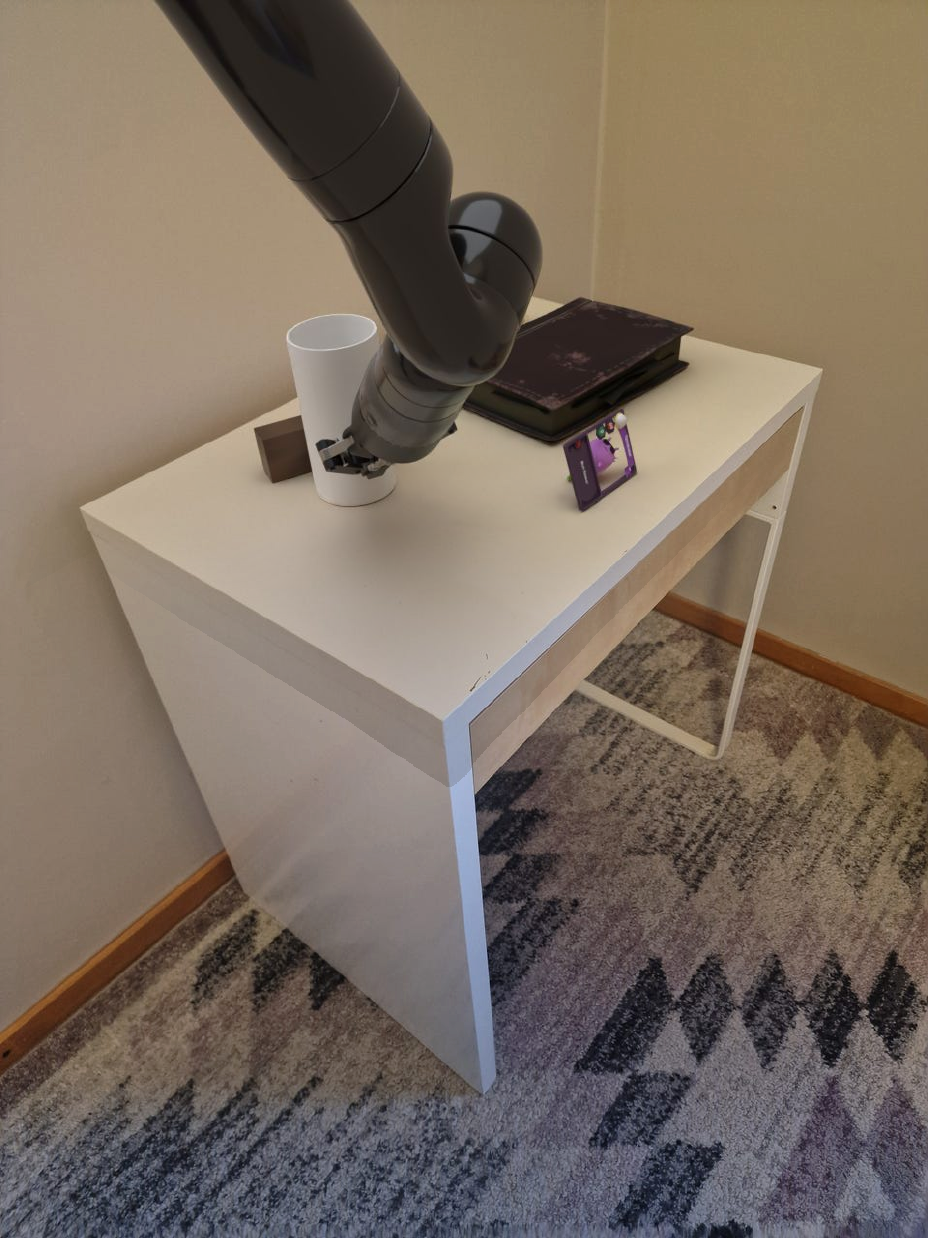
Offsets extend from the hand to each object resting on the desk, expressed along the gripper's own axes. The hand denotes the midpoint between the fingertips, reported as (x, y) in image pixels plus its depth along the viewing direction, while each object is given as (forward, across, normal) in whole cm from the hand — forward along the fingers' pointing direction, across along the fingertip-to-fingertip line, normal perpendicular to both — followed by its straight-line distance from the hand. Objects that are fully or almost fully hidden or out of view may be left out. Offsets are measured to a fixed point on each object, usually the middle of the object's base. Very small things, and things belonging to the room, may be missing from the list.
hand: (370, 467), depth 81 cm
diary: (+12, -30, -5) cm, 32 cm away
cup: (+6, 0, 0) cm, 6 cm away
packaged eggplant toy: (-2, -20, +9) cm, 22 cm away
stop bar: (+11, +1, -5) cm, 12 cm away
